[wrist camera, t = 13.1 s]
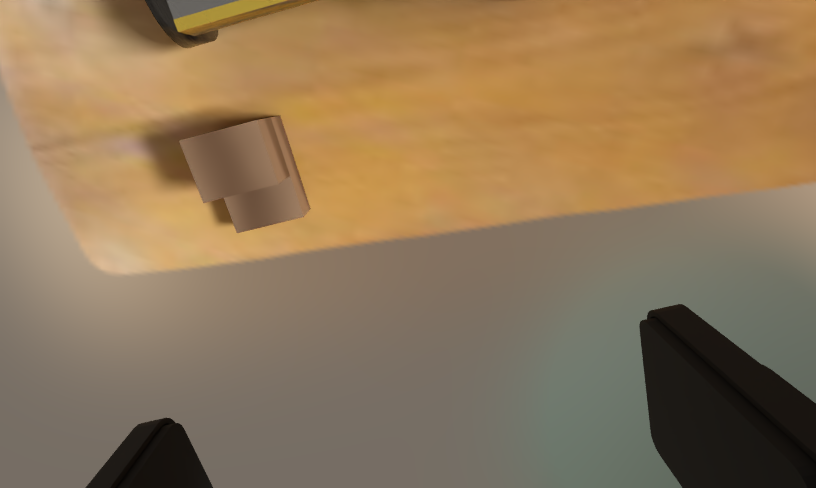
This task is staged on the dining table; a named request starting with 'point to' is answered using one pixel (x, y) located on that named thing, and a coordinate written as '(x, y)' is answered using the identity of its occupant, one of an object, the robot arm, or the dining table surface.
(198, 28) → the trolley
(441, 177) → the dining table surface
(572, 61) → the dining table surface
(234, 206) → the block
